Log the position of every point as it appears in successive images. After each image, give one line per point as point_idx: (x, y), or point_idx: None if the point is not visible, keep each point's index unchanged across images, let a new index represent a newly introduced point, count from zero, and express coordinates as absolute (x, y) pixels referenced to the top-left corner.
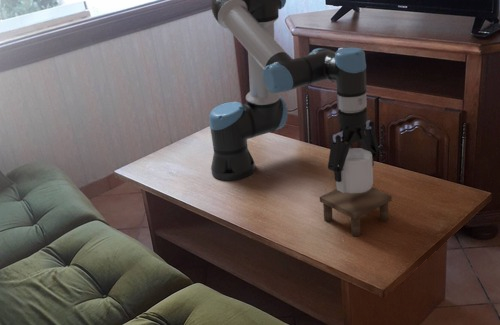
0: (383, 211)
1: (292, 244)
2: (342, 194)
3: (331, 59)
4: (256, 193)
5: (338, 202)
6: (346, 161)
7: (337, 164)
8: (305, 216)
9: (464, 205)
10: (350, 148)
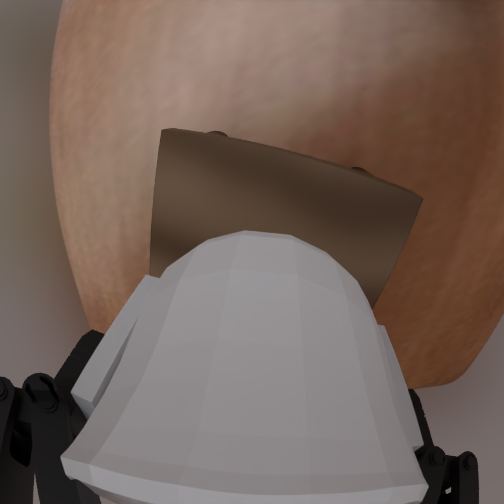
0: None
1: (60, 154)
2: (252, 218)
3: None
4: None
5: (174, 243)
6: (109, 498)
7: (31, 459)
8: (189, 64)
9: (420, 379)
10: (413, 499)
